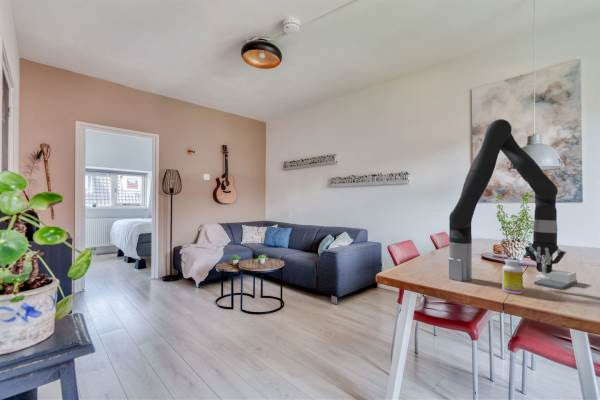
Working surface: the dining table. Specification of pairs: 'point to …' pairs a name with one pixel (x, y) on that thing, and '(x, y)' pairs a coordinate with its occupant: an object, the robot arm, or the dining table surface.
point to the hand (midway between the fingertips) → (544, 272)
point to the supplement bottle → (512, 277)
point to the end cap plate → (558, 279)
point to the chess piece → (544, 270)
